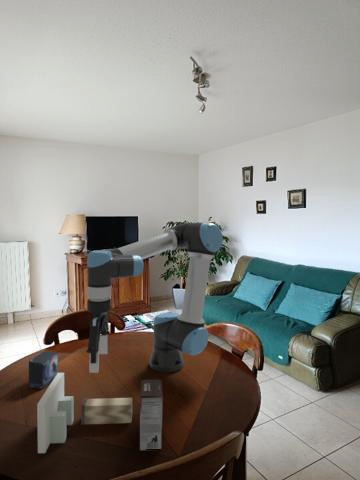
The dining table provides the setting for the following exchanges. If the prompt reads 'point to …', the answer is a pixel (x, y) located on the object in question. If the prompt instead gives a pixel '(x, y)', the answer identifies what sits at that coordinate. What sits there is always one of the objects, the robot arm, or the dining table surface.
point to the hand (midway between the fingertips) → (98, 362)
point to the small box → (43, 369)
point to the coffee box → (151, 414)
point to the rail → (106, 411)
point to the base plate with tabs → (54, 414)
